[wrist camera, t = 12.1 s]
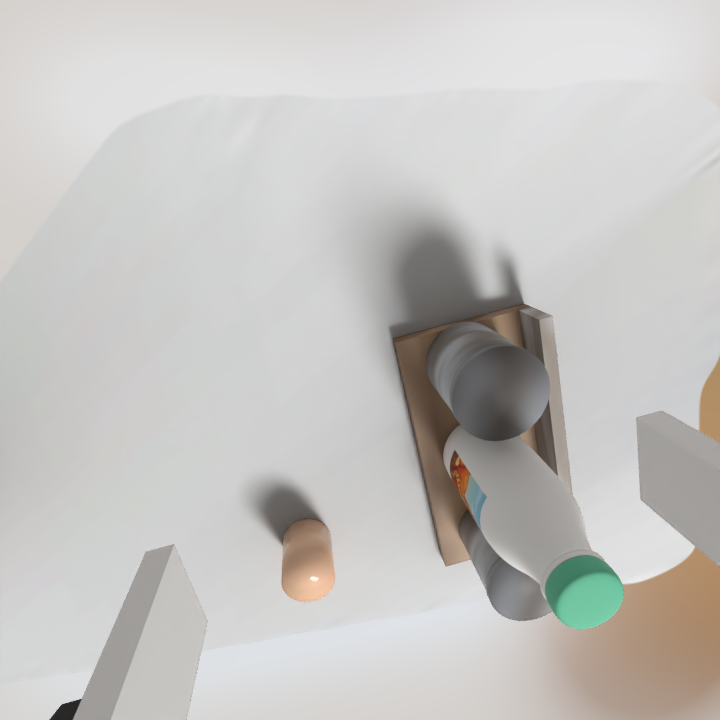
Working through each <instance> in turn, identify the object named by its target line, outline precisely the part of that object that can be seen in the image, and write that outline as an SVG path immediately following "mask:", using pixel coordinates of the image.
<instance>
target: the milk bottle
mask: <svg viewBox="0 0 720 720" xmlns="http://www.w3.org/2000/svg"><path fill="white" fill-rule="evenodd" d="M443 459H444V464H445V467H446V469H447V472H448V474H449V476H450V477H451V479H452V481H453V483H454V485H455V486H456V488H457V490H458V492H459V494H460V495H461V497H462V499H463V501H464V503H465V504H466V506H467V508H468V510H469V511H470V513H471V515H472V517H473V518H474V520H475V522H476V524H477V525H478V527H479V529H480V530H481V532H482V534H483V535H484V537H485V538H486V540H487V541H488V543H489V544H490V545H491V547H492V548H493V549H494V550H495V552H496V553H497V554H498V555H499V556H500V557H501V558H502V559H503V560H505V561H506V562H507V563H509V564H510V565H511V566H513V567H514V568H516V569H518V570H520V571H521V572H523V573H525V574H527V575H529V576H530V577H532V578H533V579H534V580H535V581H537V582H538V583H539V584H540V588H541V592H542V594H543V596H544V598H545V599H546V600H547V602H548V604H549V606H550V607H551V609H552V611H553V612H554V613H555V615H556V616H557V618H558V619H559V620H560V621H561V622H562V623H564V624H565V625H567V626H569V627H572V628H576V629H586V628H591V627H595V626H598V625H600V624H602V623H604V622H605V621H607V620H608V619H610V618H611V617H612V616H613V615H614V614H615V613H616V611H617V610H618V608H619V607H620V605H621V603H622V600H623V596H624V589H623V585H622V583H621V581H620V579H619V577H618V576H617V574H616V573H615V572H614V571H613V569H612V568H611V567H610V566H609V565H608V564H607V563H606V562H605V561H604V559H603V558H602V557H601V556H600V555H599V554H598V553H596V552H594V551H592V550H591V547H590V545H589V543H588V540H587V535H586V530H585V524H584V520H583V516H582V513H581V510H580V508H579V506H578V504H577V502H576V500H575V498H574V497H573V495H572V494H571V492H570V491H569V489H568V488H567V487H566V486H565V484H564V483H563V482H562V481H561V480H560V479H559V477H558V476H557V475H556V474H555V473H554V472H553V471H552V470H551V468H550V467H549V466H548V465H547V464H546V463H545V462H544V461H543V460H542V459H541V458H540V457H539V455H538V454H537V453H536V452H535V451H534V450H533V449H532V448H531V447H530V446H529V445H528V444H527V443H526V442H525V441H524V440H523V439H522V438H521V437H520V435H518V436H516V437H514V438H511V439H508V440H503V441H487V440H483V439H479V438H477V437H475V436H473V435H471V434H470V433H468V432H467V431H466V430H465V429H464V428H463V427H462V426H461V425H459V426H457V427H456V428H455V429H454V430H453V431H452V432H451V434H450V436H449V437H448V439H447V441H446V444H445V447H444V452H443Z"/></svg>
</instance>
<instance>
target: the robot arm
mask: <svg viewBox="0 0 720 720" xmlns="http://www.w3.org/2000/svg"><path fill="white" fill-rule="evenodd" d="M636 422H637V441H638V460H639V479H640V498H641V500H642V501H643V502H644V503H645V504H646V505H648V506H649V507H650V508H651V509H652V510H653V511H655V512H656V513H657V514H658V515H659V516H660V517H662V518H663V519H664V520H665V521H666V522H667V523H669V524H670V525H671V526H672V527H673V528H675V529H676V530H677V531H678V532H679V533H680V534H682V535H683V536H684V537H685V538H686V539H687V540H689V541H690V542H691V543H692V544H693V545H694V546H696V547H697V548H698V549H699V550H700V551H702V552H703V553H704V554H705V555H706V556H707V557H708V558H710V559H711V560H712V561H713V562H714V563H716V564H717V565H718V566H719V567H720V443H719V442H717V441H715V440H714V439H712V438H710V437H708V436H706V435H705V434H703V433H701V432H699V431H698V430H696V429H694V428H692V427H690V426H689V425H687V424H685V423H683V422H682V421H680V420H678V419H676V418H674V417H673V416H671V415H669V414H667V413H665V412H664V411H658V412H655V413H651V414H648V415H644V416H640V417H637V418H636ZM207 622H208V621H207V619H206V617H205V614H204V612H203V610H202V607H201V605H200V603H199V600H198V598H197V596H196V594H195V591H194V589H193V587H192V584H191V582H190V580H189V577H188V575H187V573H186V570H185V568H184V566H183V563H182V561H181V559H180V556H179V554H178V552H177V550H176V547H175V545H174V544H173V545H169V546H166V547H162V548H158V549H155V550H151V551H148V552H146V553H145V555H144V558H143V560H142V562H141V564H140V567H139V569H138V571H137V574H136V576H135V578H134V580H133V583H132V585H131V587H130V590H129V592H128V594H127V597H126V599H125V601H124V603H123V606H122V608H121V610H120V613H119V615H118V617H117V619H116V622H115V624H114V626H113V629H112V631H111V633H110V636H109V638H108V640H107V642H106V645H105V647H104V649H103V652H102V654H101V656H100V658H99V661H98V663H97V665H96V668H95V670H94V672H93V675H92V677H91V679H90V681H89V684H88V686H87V688H86V691H85V693H84V695H83V698H82V699H80V700H76V701H73V702H69V703H65V704H62V705H61V706H60V707H59V709H58V710H57V711H56V712H55V714H54V715H53V716H52V717H51V719H50V720H187V716H188V711H189V706H190V702H191V697H192V692H193V688H194V683H195V678H196V674H197V669H198V664H199V660H200V655H201V650H202V646H203V641H204V636H205V632H206V627H207Z"/></svg>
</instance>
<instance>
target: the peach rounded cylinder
mask: <svg viewBox="0 0 720 720" xmlns="http://www.w3.org/2000/svg"><path fill="white" fill-rule="evenodd" d="M334 583H335V572H334V562H333V552H332V542H331V534H330V531H329V529H328V528H327V526H326V525H325V524H323V523H322V522H320V521H318V520H314V519H303V520H299V521H297V522H295V523H293V524H292V525H291V526H289V527H288V529H287V530H286V532H285V534H284V538H283V559H282V588H283V590H284V591H285V593H286V594H287V595H288V596H289V597H291V598H292V599H294V600H297V601H301V602H312V601H316V600H319V599H321V598H323V597H324V596H326V595H327V594H328V593H329V592H330V591H331V590H332V588H333V586H334Z"/></svg>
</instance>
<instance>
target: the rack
mask: <svg viewBox="0 0 720 720" xmlns="http://www.w3.org/2000/svg"><path fill="white" fill-rule="evenodd" d="M393 341H394V346H395V350H396V355H397V359H398V363H399V368H400V372H401V377H402V381H403V386H404V390H405V395H406V399H407V404H408V408H409V413H410V417H411V421H412V426H413V430H414V435H415V439H416V444H417V448H418V453H419V457H420V462H421V466H422V471H423V475H424V479H425V484H426V488H427V493H428V497H429V502H430V506H431V511H432V515H433V520H434V524H435V529H436V533H437V538H438V542H439V546H440V551H441V555H442V559H443V561H444V563H445V566H450V565H453V564H456V563H460V562H463V561H467V560H470V559H471V560H472V562H473V564H474V566H475V568H476V570H477V572H478V575H479V577H480V579H481V581H482V583H483V585H484V587H485V589H486V591H487V595H488V597H489V599H490V601H491V604H492V605H493V607H494V609H495V610H496V611H497V612H498V613H499V614H501V615H502V616H504V617H506V618H508V619H512V620H517V621H527V620H532V619H537V618H539V617H542V616H545V615H547V614H548V613H550V612H552V609H551V607H550V606H549V604H548V602H547V600H546V599H545V598H544V596H543V594H542V592H541V588H540V584H539V583H538V582H537V581H535V580H534V579H533V578H532V577H530V576H529V575H527V574H525V573H523V572H521V571H520V570H518V569H516V568H514V567H513V566H511V565H510V564H509V563H507V562H506V561H505V560H503V559H502V558H501V557H500V556H499V555H498V554H497V553H496V552H495V550H494V549H493V548H492V547H491V545H490V544H489V543H488V541H487V540H486V538H485V537H484V535H483V534H482V532H481V530H480V529H479V527H478V525H477V524H476V522H475V520H474V518H473V517H472V515H471V513H470V511H469V510H468V508H467V506H466V504H465V503H464V501H463V499H462V497H461V495H460V494H459V492H458V490H457V488H456V486H455V485H454V483H453V481H452V479H451V477H450V476H449V474H448V472H447V469H446V467H445V464H444V459H443V452H444V447H445V444H446V441H447V439H448V437H449V436H450V434H451V432H452V431H453V430H454V429H455V428H456V427H457V426H459V425H461V426H462V427H463V428H464V429H465V430H466V431H467V432H468V433H470V434H471V435H473V436H475V437H477V438H479V439H483V440H487V441H503V440H508V439H511V438H514V437H516V436H518V435H520V437H521V438H522V439H523V440H524V441H525V442H526V443H527V444H528V445H529V446H530V447H531V448H532V449H533V450H534V451H535V452H536V453H537V454H538V455H539V457H540V458H541V459H542V460H543V461H544V462H545V463H546V464H547V465H548V466H549V467H550V468H551V470H552V471H553V472H554V473H555V474H556V475H557V476H558V477H559V479H560V480H561V481H562V482H563V483H564V484H565V486H566V487H567V488H568V489H569V491H570V492H571V494H572V485H571V476H570V467H569V458H568V449H567V440H566V431H565V423H564V414H563V405H562V396H561V387H560V378H559V369H558V360H557V351H556V342H555V333H554V324H553V316H551V315H549V314H547V313H544V312H542V311H540V310H537V309H535V308H533V307H530V306H528V305H526V304H522V305H518V306H514V307H510V308H507V309H503V310H499V311H495V312H492V313H488V314H484V315H480V316H476V317H473V318H469V319H465V320H461V321H458V322H454V323H450V324H446V325H442V326H439V327H435V328H431V329H427V330H424V331H420V332H416V333H412V334H408V335H405V336H401V337H397V338H393ZM572 495H573V494H572Z"/></svg>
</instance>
